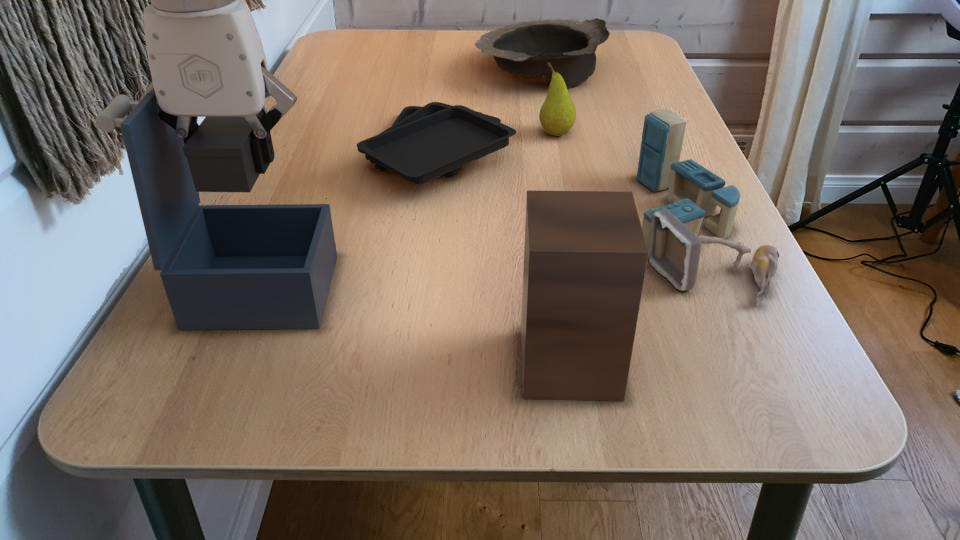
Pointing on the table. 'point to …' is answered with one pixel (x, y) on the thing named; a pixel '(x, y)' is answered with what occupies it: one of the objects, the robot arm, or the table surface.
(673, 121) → the toy kitchen set
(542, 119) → the fruit
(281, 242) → the storage box
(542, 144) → the table surface
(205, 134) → the dark grey rectangular block
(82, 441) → the table surface
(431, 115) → the tray
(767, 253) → the decorative sculpture
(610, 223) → the stand
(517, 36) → the stone bowl
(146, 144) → the box lid
